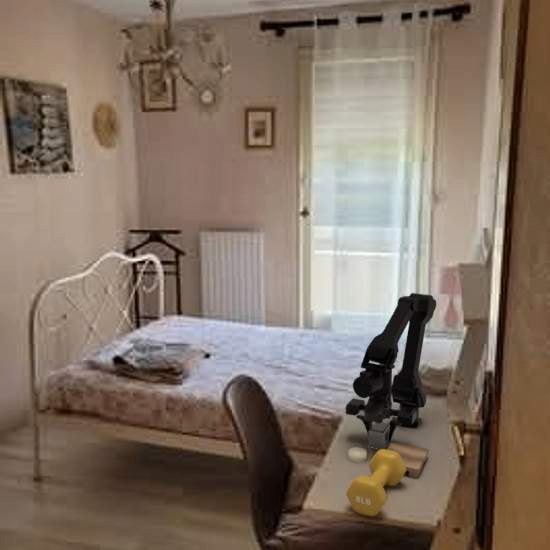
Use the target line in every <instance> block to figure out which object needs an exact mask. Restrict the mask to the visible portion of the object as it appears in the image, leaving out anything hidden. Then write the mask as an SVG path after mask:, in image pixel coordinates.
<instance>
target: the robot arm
mask: <svg viewBox="0 0 550 550" xmlns="http://www.w3.org/2000/svg"><path fill="white" fill-rule="evenodd" d="M436 308H437V300H436V299H434V296H433V295H431V294H424V293H418V292H417V293H416V292H411V293H410V294H409V295H403V296H401V297H399V298H398V300H397V306H396V307H395V309H394V311H393V313H392V315H391V316H390V318H389V320H388V322H387V323H386V325H385V327H384V329H383V331H382V332H381V333H379V334H377V335H376V336H374V337H373V339H372V340H371V341H370V343H369V345H368V346H367V348H366V350H365V353H364V356H363V357H362V358H363V359H362V361H361V364H360V368H361V369H364V370H362V371H360V372H359V376H357V377H356V378H355V379H354V380H353V383H352V388H353V389H352V390H353V391H354V393H355V395H356V396H357V397H359V398H361V399H358V398H352V399H351V400H349V402H348V403H346V405H345V414H346V415H349V416H356V418H357V420H358V419H359V420H360V421H361V422H362V423H363V425H364V427H365V430H366V432H367V435H368V437H369V430H370V428H371V427H372V426H373V423H375V422H376V423H382V422H384V420H386V419H389V420H390V418H391V420H390V421H389V422H388V423H389V424H390V429H389V437H388V440H389V442H390V443H391V442H392V440H393V437H394V434H395V431H396V429H397V428H398V426H403V427H409V428H413V429H417V428H419V426H420V424H421V422H422V420H423V419H422V418H420V416H419V415H420V408H425V405H426V404H427V403H426V402H427V395H426V394H425V393H424V391H423V390H422V389H423V388H422V387H423V381H422V380H421V377H420V375H419V369H420V364H421V363H420V362H421V356H422V350H423V345H424V344H423V343H424V339H425V332H426V326H427V324H428V323H429V322H430V321H431V320H432V318H433V317H434V312H435V311H436ZM407 326H408V328H407ZM406 328H407V333H406V334H407V336H406V342H405V347H404V353H403V360H402V365H401V369H400V371H399V372H398V373H397V374H395V375H394V376H393V369H395V368H396V365H395V362H396V360H397V358H398V355H399V352H400V349H399V344H398V343H399V341H400V340H401V337H402V336H403V334H404V332H405V330H406ZM392 379H393V380H392ZM367 398H368V400H367V402H366V401H365V400H364V399H367ZM393 403H395V404H396V403H397V404H398V405H399V409H394V408H392V407H393Z"/></svg>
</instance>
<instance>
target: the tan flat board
mask: <svg viewBox="0 0 550 550" xmlns="http://www.w3.org/2000/svg"><path fill="white" fill-rule="evenodd" d="M386 450H391V451H395V452H397V453H398V454H399V455H400V456H401V458H402V460H403V462H404V464H405V467H406V472H408V478H412V479H418V477H419V475H420V473H421V471H422V469H423V467H424V465H425V463H424V462H426V461H425V460H427V459H426V458H428V455H429V452H430V451H429V448H425V447H420V446H415V445H408V444H404V443H399V442H393V441H391V442H390V443H389V445H388V446H387V448H386Z"/></svg>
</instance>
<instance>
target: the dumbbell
mask: <svg viewBox="0 0 550 550" xmlns="http://www.w3.org/2000/svg"><path fill="white" fill-rule="evenodd" d="M368 468H369V471H370V473H371V475H370V476H368V475H358V476H357V477H356V478H355V479H354V480H353V481H352V483H351V484H350V486H349V487H348V488H347V491H346V492H345V493H346V497H347V500H348V502H349V503H350V506H351V508H352V509H353V511H354V512H355V513H358V514H360V515H364V516H367V517H375V516H377V515H378V514H379V512H381V510H382V509H383V507H384V505H385V504H386V502H387V499H388V496H387V493H386V491H385V489H384V487H385V486H388V487H396V485H398V484H399V483H400V481H401V480H402V479H403V477H404V476H405V474H406V472H407V470H406V467H405V464H404V462H403V460H402V458H401V456H400V455H399V454H398V453H397V452H395V451H391V450H387V448H386V449H380V450H379V449H378V450H377V452H376V453H375V454H374V456H373V457H372V458H371V459H370V461H369V464H368Z"/></svg>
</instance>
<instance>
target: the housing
mask: <svg viewBox="0 0 550 550" xmlns="http://www.w3.org/2000/svg"><path fill="white" fill-rule="evenodd" d="M389 429H390V424H389V422H384V421H383V422H382V423H376V422H373V423H372V427H371V428H370V430H369V436H368V439H367V440H368V448H369V447H373V448H372V449H374V448H377V449H376V450H379V449H385V448H386V447H387V448H388V446H389V445H390V443H389V440H388V437H389ZM388 444H389V445H388ZM387 445H388V446H387ZM387 448H386V449H387Z"/></svg>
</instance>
